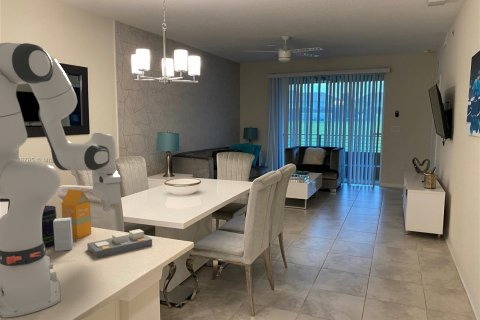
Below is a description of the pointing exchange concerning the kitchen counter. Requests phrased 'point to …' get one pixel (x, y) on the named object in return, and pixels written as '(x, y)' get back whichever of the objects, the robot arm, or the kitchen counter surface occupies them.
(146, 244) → the button panel
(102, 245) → the near button
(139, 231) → the far button
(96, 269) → the kitchen counter surface
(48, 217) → the dark blue cylinder
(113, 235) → the middle button
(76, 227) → the orange juice
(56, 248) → the skincare box
